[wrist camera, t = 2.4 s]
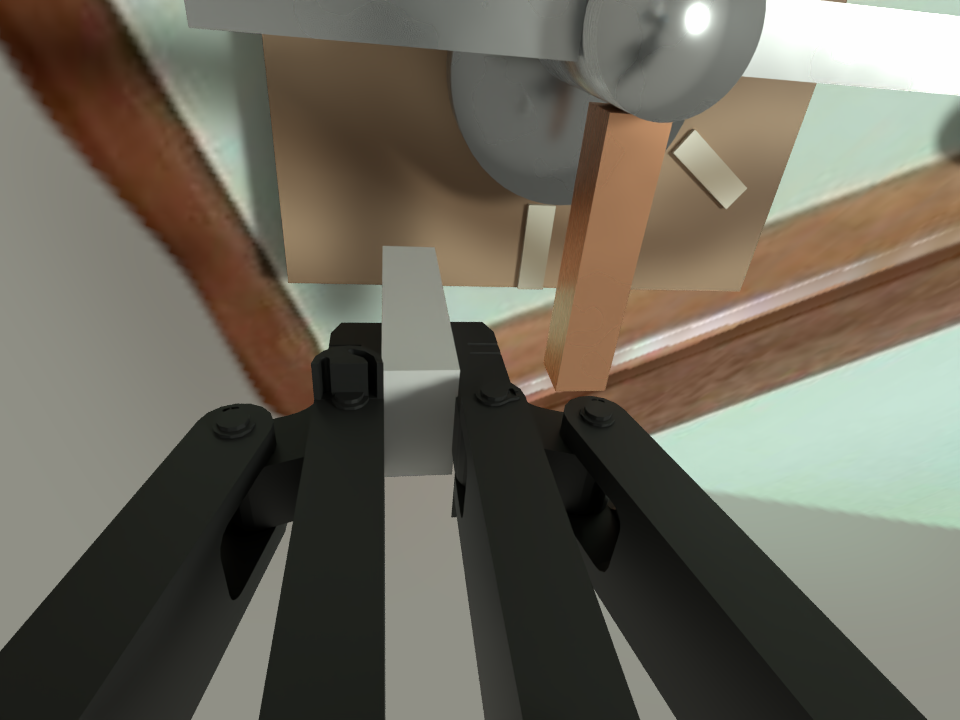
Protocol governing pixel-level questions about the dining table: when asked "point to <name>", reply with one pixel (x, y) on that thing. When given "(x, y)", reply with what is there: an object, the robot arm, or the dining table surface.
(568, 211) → the board
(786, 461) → the dining table surface
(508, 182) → the capstan
